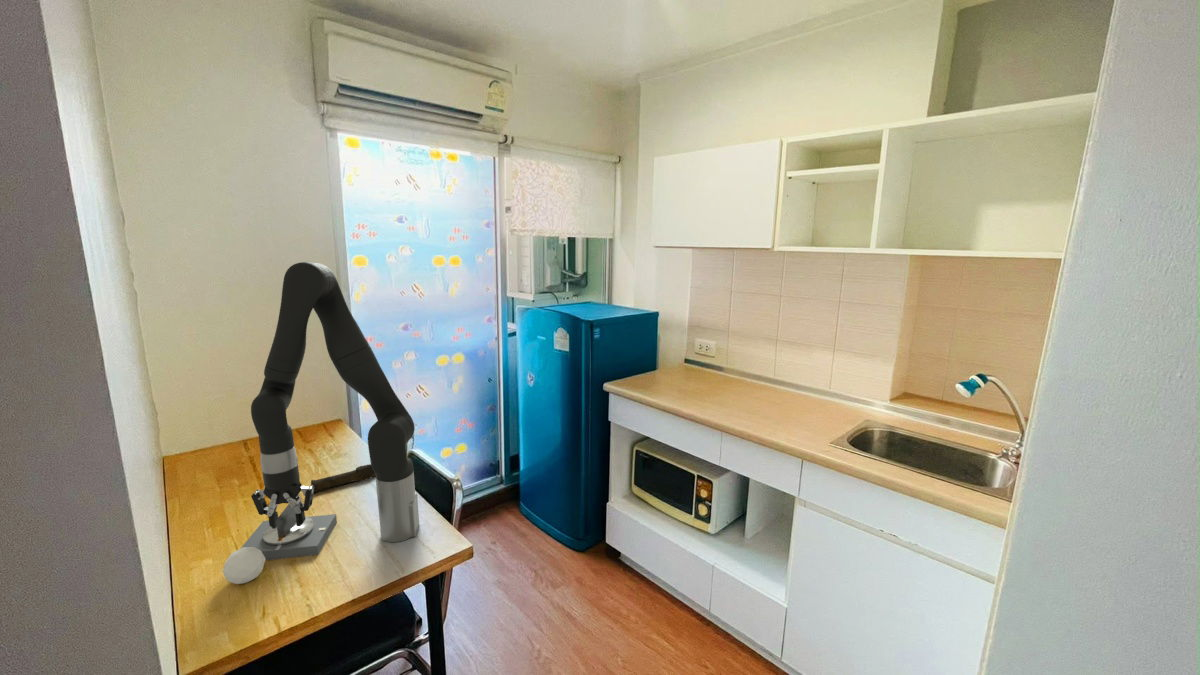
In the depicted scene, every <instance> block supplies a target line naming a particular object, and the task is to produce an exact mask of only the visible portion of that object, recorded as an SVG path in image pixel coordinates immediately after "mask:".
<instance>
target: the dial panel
mask: <svg viewBox="0 0 1200 675" xmlns="http://www.w3.org/2000/svg"><path fill="white" fill-rule="evenodd" d="M309 517H310V518H311V519H312V520H313V523H314V527H313V529H312V531H311V532H310V533H309V534H308V535H306V536H305V537H303V538H301V539H299V540H297V541H294V542H291V543H288V544H284V545H269V544H266V543H265V542H264V541H263V533H264V531H265V530H266V529H267V528H268V527H269V526H270V525H269V519H268V520H263V521H262V522H261V523H260V524H259V526H258V527H257V528H256V529H255V530H254V532H253V533H252V534H251V535H250V536H249V538H248V539H247V540H246V541H245V542H244V544H243V545H242V546H241V547H240V548H239V549H241V548H242V547H255V548H257V549H259V550H261V551H262V553H263V555H264V557H265V561H273V560H280V559H289V558H299V557H308V556H318V555H320V552H322V550H323V547H324V545H325V544H326V542H327V540H328V538H330V535H331V533H332V531H333V530H334V528H335V526H336V525H337V523H338V521H337V514H336V513H332V514H324V515H322V514H321V515H315V516H314V515H313V516H309Z"/></svg>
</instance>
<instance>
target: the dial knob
mask: <svg viewBox="0 0 1200 675" xmlns="http://www.w3.org/2000/svg"><path fill="white" fill-rule="evenodd" d="M287 504H288V505H287V506H286V507H285V508H284V509H283V511H282V512H281V513H280V515H278V518H277V520H276V524H277V528H276V529H272V527H270V526H269V527H268V528H267V529H266V530H265V531H264V533H263V541H264V542H265V543H266V544H269V545H284V544H288V543H291V542H294V541H297V540H299V539H301V538H303V537H305V536H306V535H308V534H309V533H310V532H311V531H312V529H313V527H314V523H313V520H312V519H311V518H310V517H311V516H306V515H305V521H304V522H303V524H302V525H301V526H297V523H296V515H295V514H296V512H295V510H294V508H293V507H291V506H290V504H289V503H287Z"/></svg>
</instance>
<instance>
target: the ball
mask: <svg viewBox="0 0 1200 675" xmlns="http://www.w3.org/2000/svg"><path fill="white" fill-rule="evenodd" d="M241 547H242V546H241ZM241 547H240V548H241ZM240 548H238V549H237V550H235V551H233V552H231V553H230V554H229V556H228V558H226V560H225V562H224V565H223V569H222V573H223V576H224V577H225V580H226V581H227V582H230V583H231V584H234V585H239V584H247V583H249V582H250V581H253V580H254V579H256V578H258V577H259V575H261V572H262V571H263V569H264V566H265V562H266V560H265V557H264V555H263V553H262V551H261V550H259V549H257V548H255V547H242V548H241V549H240Z"/></svg>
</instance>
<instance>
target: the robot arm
mask: <svg viewBox="0 0 1200 675" xmlns="http://www.w3.org/2000/svg"><path fill="white" fill-rule="evenodd" d="M281 289H282V290H281V299H280V300H281V301H280V308H279V314H278V318H277V319H278V320H277V325H276V328H275V333H274V337H273V340H272V344H271V347H270V350H269V353H268V356H267V360H266V362H265V367H264V370H263V375H264V380H263V382H262V385H261V388H260V391H259V393H258V394H257V396H255V398H254V399H253V400H252V402H251V404H250V405H251V406H250V415H251V419H252V423H253V425H254V428H255V431H256V434H257V435H258V443H259V444H258V445H259V449H260V466H261V474H262V479H263V486H264V489H256V490H255V491H254V493H252V494H251V497H250V498H251V500H252V501H253V504H254V505H255V508H256V510H257V513H258V515H260V516H263V515H265V516H267V518H268V520H269V525H270V527H272V529H276V528H277V524H276V520H277V518H278V517H279V513H278V511H277V509H278V506H279V505H281V504H290V506H291V507H293V508H294V510H295V512H296V514H295V515H296V523H297V526H301V525H302V524H303V522H304V521H305V516H306V515H305V514H306V513H305V512H308V511H309V509H310V508H311V506H312V505H313V500H314V494H315V493H314V488H315V487H314V486H313V485H311V484H310V485H309V486H306V485H303V484H302V483H301V481H300V470H299V459H298V456H297V455H298V454H297V450H296V446H295V441H294V434H293V428H292V427H291V426H290V425H289V424H288V419H287V409H288V408H289V406H290V404H291V402H292V400H293V396H294V395H293V394H294V392H295V391H294V390H295V385H296V380H297V377H298V375H299V373H300V370H301V367H302V364H303V360H304V358H305V353H306V347H307V328H308V324H309V323H308V322H309V319H310V315H311V313H312V311H313V310H314V312H315V314H316V315H317V317H318V318H319V321H320V324H321V327H322V330H323V335H324V341H325V346H326V350H327V353H328V356H329V358H330V360H331V362H332V364H333V366H334V367H335V370H336V371H337V373H338V375H339V376H340V377H341V380H343V382H344V383H345V384H347V386H349V387H350V388H351V389H353V391H355V392H356V393H358V394H359V395H360V396H362V398H364V399H365V400H366V401H367V403H368V405H369V406H370V407H371V409H372V412H373V413H374V415H375V417H376V420H377V421H376V422H375V423H373V425H372V426H371V427H370V428H369V430H368V433H367V445H368V446H367V447H368V454H369V460H370V464H371V466H372V469H373V470H374V472H375V476H374V477H375V486H376V496H377V507H378V517H379V520H378V521H379V531H380V537H381V539H382V540H383V541H384V542H388V543H398V542H403V541H406V540H408V539H410V538H415V537H416V536H417V533H418V531H419V527H420V516H419V515H420V514H419V503H418V502H419V500H418V493H417V492H416V489H415V488H416V486H415V474H414V473H415V471H414V462H413V460H412V459H411V458H410V457H408V456H407V447H406V445H407V444H408V442H409V441H410V440H411V439H412V438H413V436H414V434H415V430H416V429H415V423H414V420H413V418H412V416H411V414H410V413H409V412H408V410H407V408H406V407H405V406H404V404H403V403H402V402H401V400H400V398H399V397H398V396H397V394H396V392H395V391H394V389H393V388H392V386H391V383H390V382H389V379H388V378H387V376H386V374H385V373H384V371H383V368H382V367H381V366H380V363H379V361H378V359H377V356H376V355H375V353H374V351H373V349H372V348H371V345H370V344H369V341H367V339H366V337H365V335H364V333H363V331H362V330H361V328H360V326H359V324H358V322H357V321H356V319H355V318H354V316H353V315H352V312H351V311H350V309H349V306H348V304H347V303H346V299H345V298H344V294H343V291H342V290H341V287H340V284H339V282H338V279H337V277H336V276H335V273H334V272H333V271H332V270H331V269H330V267H328V266H326V265H324V264H323V263H320V262H309V261H302V262H297V263H294V264H292V265H291V266H289V267H288V268H287V270H286V271H285V274H284V276H283V282H282V288H281ZM300 492H301V493H302V495H303V497H304V502H303V501H302V497H301V495H300ZM266 497H267V498H268V499H269V500H270V501H269V505H268V503H267V501H266V499H265V498H266Z"/></svg>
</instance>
